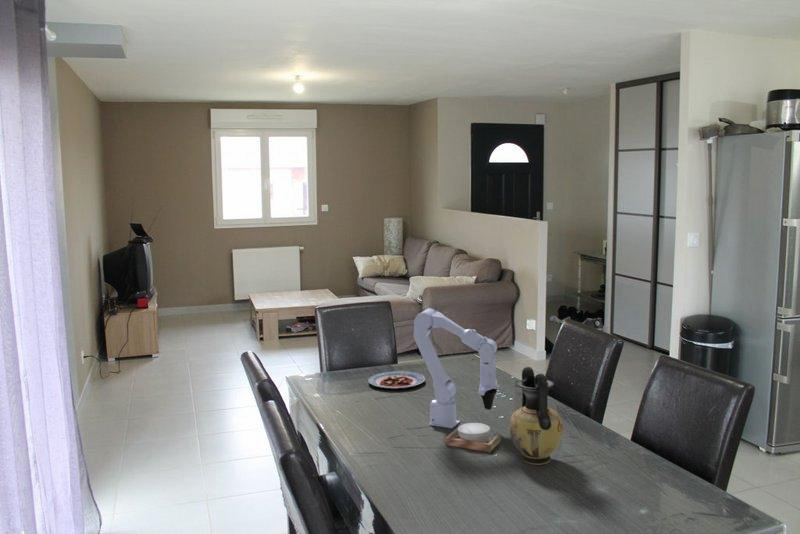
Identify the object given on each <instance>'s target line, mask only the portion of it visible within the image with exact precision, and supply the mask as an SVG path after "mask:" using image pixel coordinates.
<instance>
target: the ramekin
mask: <svg viewBox="0 0 800 534" xmlns="http://www.w3.org/2000/svg"><path fill="white" fill-rule="evenodd" d="M457 427H458V432H459V437H458V438H459V439H464V440H470V441H476V442H483V443H489V438H490V432H491V427H490V426H489V425H487V424H485V423H480V422H468V423H467V422H466V423H463V424H461V425H459V426H457Z"/></svg>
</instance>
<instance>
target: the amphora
mask: <svg viewBox="0 0 800 534" xmlns="http://www.w3.org/2000/svg"><path fill="white" fill-rule="evenodd" d="M517 385H518V386H519V387H520V388H522V408H520V409H518V410H516V411H515V410H514V412H513V413H512V415H511V417H510V421H509V433H510V436H511V439H512V443H513V444H514V446H515V447H516V449H517V451H519V452H520V453H521V454H522V461H523V462H525V463H527V464H529V465H535V466H537V465H538V466H540V465H541V466H542V465H546V464H549V463H550V462H551V460H552V457H551V455H552V454H553V453H554V452H555V451H556V450H557V448H558V447H559V446H560V443H561V440H562V437H563V431H564V429H563V428H564V427H563V420H562V418H561V416H560V414H559V413H558V412H557V411H556V410H554V409H553V408H551V407H549V406H548V398H549V397H548V395H549V394H548V393H549V391H550V389H551V388H553V387H554V385H555V383H554V382H553V381H551V380H550V379H549V380H548V379H547V377H546V376H545V374H544V373H537V374H536V375H535V372H534V370H533V368H532V367H531V366H527V367H524V368H523V369H522V372H521V380H519V382H518V383H517Z"/></svg>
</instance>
